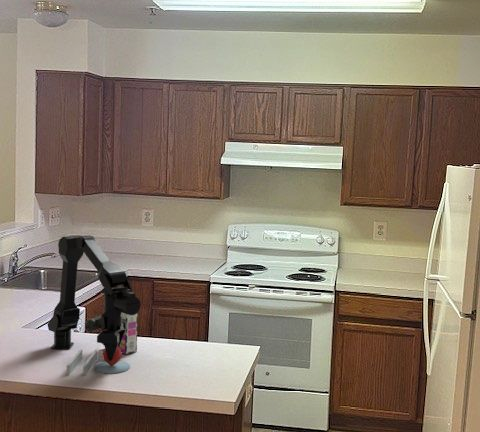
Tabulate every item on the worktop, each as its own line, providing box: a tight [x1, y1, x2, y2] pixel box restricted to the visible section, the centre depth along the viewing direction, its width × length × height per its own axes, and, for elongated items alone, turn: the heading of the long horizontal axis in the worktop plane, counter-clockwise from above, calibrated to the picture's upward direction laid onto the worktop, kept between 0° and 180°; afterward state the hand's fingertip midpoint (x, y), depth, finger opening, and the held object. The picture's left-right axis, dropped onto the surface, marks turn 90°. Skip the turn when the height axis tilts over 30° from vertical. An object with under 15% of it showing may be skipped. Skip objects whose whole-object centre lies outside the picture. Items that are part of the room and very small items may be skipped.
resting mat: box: [94, 360, 131, 375], centre depth 210 cm, size 11×11×1 cm
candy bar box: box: [119, 311, 139, 355], centre depth 228 cm, size 11×5×16 cm, turn 47°
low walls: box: [66, 349, 98, 376], centre depth 210 cm, size 16×6×3 cm, turn 0°
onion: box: [102, 346, 122, 366], centre depth 210 cm, size 6×6×8 cm
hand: (112, 356), depth 210 cm, fingers open, 7 cm apart
